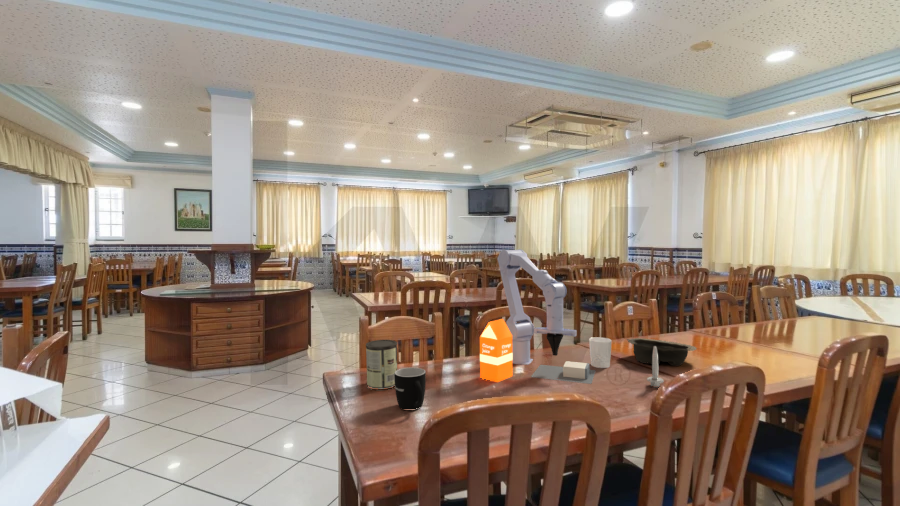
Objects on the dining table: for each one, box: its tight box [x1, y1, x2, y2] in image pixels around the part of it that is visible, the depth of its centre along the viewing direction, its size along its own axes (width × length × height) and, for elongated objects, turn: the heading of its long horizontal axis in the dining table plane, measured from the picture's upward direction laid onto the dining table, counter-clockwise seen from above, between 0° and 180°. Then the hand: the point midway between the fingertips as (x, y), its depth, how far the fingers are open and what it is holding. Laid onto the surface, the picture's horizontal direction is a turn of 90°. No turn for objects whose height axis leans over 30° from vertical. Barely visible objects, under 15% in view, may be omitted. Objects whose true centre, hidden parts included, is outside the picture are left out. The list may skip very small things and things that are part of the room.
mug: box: [394, 366, 427, 410], centre depth 123 cm, size 12×9×10 cm
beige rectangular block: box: [562, 360, 591, 379], centre depth 151 cm, size 4×7×8 cm
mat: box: [530, 364, 597, 385], centre depth 153 cm, size 20×16×1 cm
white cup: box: [588, 336, 612, 369], centre depth 162 cm, size 8×8×10 cm
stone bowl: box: [626, 336, 698, 367], centre depth 168 cm, size 25×25×9 cm
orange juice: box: [479, 318, 514, 383], centre depth 150 cm, size 8×9×20 cm
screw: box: [646, 346, 665, 388], centre depth 139 cm, size 13×5×5 cm
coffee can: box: [365, 339, 398, 389], centre depth 144 cm, size 10×10×14 cm
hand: (555, 354), depth 154 cm, fingers closed
